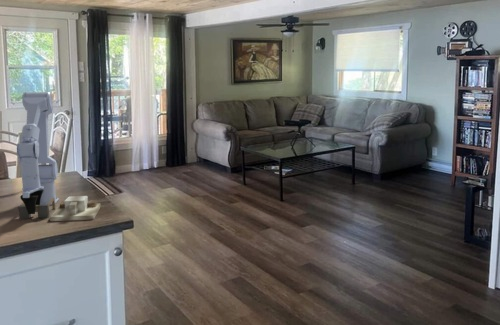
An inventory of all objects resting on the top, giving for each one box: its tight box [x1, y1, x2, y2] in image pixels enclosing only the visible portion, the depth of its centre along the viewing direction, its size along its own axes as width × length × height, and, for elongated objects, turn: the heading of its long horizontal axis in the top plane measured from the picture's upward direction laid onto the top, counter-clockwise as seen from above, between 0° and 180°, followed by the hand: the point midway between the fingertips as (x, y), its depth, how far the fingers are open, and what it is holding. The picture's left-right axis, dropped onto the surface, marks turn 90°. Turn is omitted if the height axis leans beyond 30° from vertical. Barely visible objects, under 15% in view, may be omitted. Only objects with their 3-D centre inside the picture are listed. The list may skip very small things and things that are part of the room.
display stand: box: [49, 195, 101, 222], centre depth 177 cm, size 15×15×6 cm
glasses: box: [17, 198, 56, 220], centre depth 177 cm, size 10×11×4 cm
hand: (33, 211), depth 173 cm, fingers open, 5 cm apart
